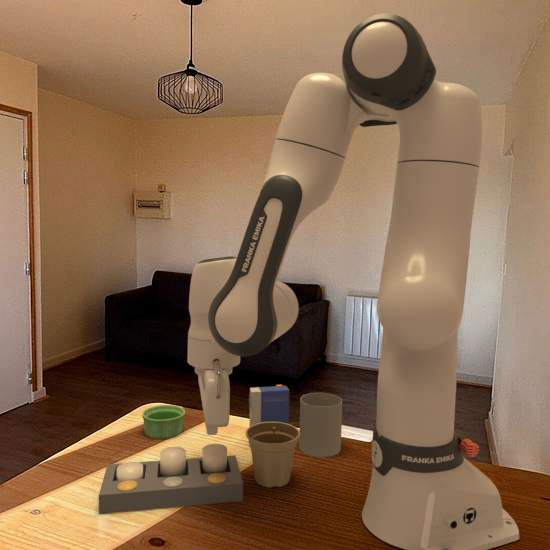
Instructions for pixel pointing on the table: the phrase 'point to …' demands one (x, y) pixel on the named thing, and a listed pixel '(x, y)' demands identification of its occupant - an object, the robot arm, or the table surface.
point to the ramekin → (163, 421)
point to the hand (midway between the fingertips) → (211, 431)
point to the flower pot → (272, 452)
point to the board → (170, 487)
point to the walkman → (269, 404)
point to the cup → (320, 424)
